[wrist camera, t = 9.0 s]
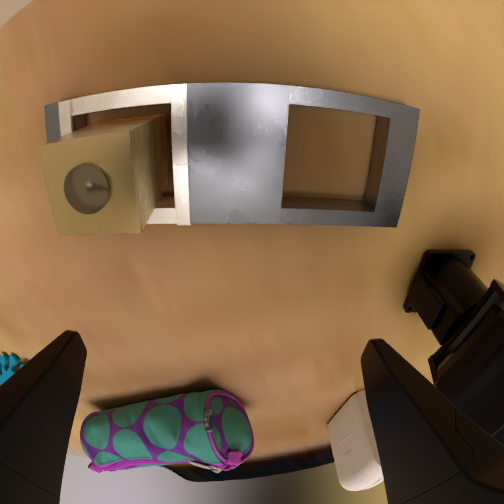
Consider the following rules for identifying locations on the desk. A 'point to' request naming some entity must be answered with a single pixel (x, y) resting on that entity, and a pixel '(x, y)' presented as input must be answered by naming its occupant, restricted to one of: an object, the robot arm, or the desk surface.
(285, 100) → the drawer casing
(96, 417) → the pencil case
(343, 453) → the photo printer
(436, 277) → the robot arm
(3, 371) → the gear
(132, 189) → the wooden pull-out drawer
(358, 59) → the desk surface
